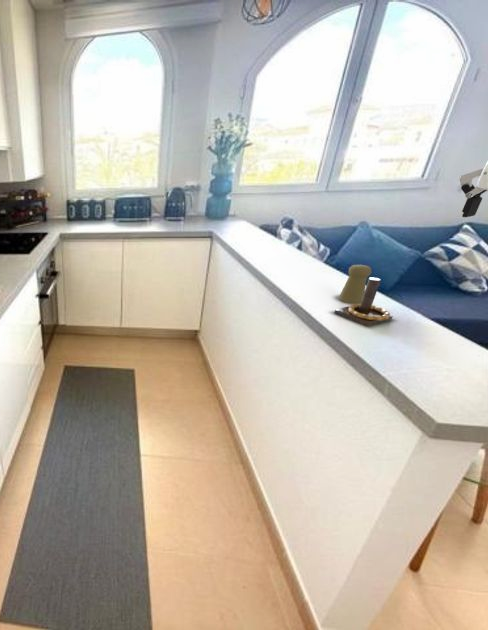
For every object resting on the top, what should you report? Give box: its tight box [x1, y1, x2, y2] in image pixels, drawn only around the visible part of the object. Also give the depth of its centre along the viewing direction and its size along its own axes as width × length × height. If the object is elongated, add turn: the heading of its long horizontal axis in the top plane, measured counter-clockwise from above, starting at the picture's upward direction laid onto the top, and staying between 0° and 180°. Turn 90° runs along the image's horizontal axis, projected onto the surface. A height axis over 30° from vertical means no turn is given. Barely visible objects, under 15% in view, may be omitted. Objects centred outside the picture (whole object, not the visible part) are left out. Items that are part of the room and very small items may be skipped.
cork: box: [338, 264, 372, 305], centre depth 104 cm, size 6×6×11 cm
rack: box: [334, 277, 394, 327], centre depth 94 cm, size 9×9×11 cm
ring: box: [348, 303, 391, 321], centre depth 95 cm, size 9×9×1 cm
